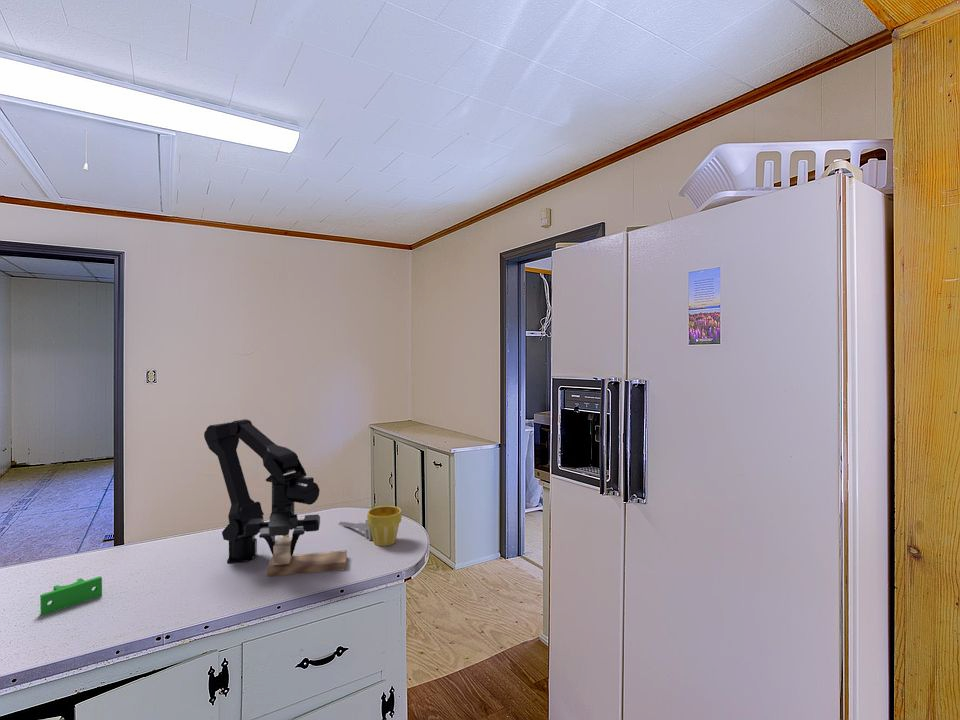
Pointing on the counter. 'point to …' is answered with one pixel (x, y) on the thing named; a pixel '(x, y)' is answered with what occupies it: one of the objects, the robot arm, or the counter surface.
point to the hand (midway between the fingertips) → (283, 556)
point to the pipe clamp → (70, 594)
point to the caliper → (359, 527)
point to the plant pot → (384, 524)
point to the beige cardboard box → (282, 550)
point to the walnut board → (310, 563)
